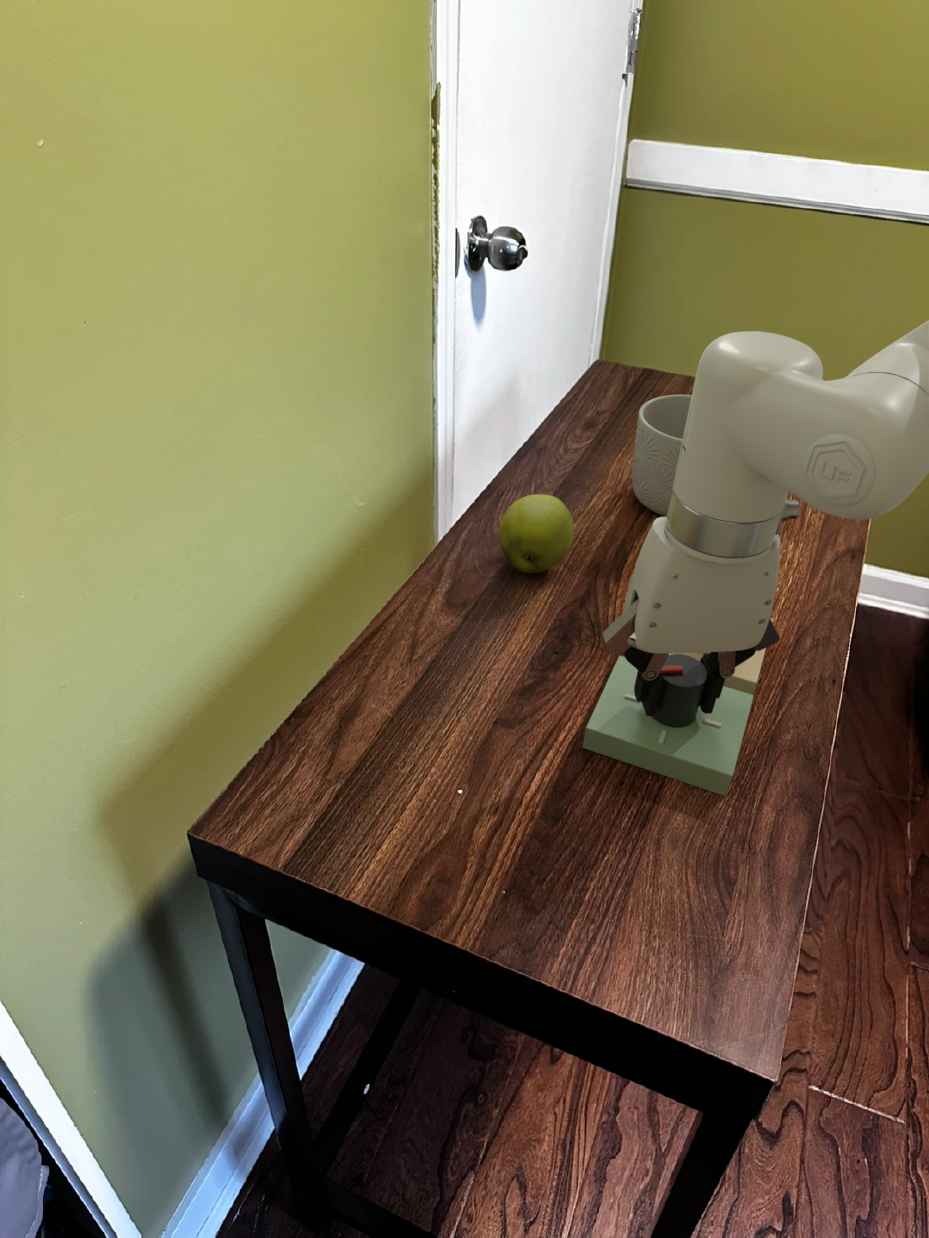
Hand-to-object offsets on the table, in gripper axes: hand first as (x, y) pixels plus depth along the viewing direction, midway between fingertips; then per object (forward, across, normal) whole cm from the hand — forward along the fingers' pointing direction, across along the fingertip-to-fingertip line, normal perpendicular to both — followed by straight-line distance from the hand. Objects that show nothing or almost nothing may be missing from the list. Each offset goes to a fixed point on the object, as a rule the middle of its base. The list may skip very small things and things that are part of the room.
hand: (674, 701), depth 71 cm
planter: (+4, -11, -37) cm, 39 cm away
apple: (+4, +8, -25) cm, 26 cm away
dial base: (+4, 0, 0) cm, 4 cm away
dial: (+1, 0, 0) cm, 1 cm away
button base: (+4, -6, -10) cm, 13 cm away
